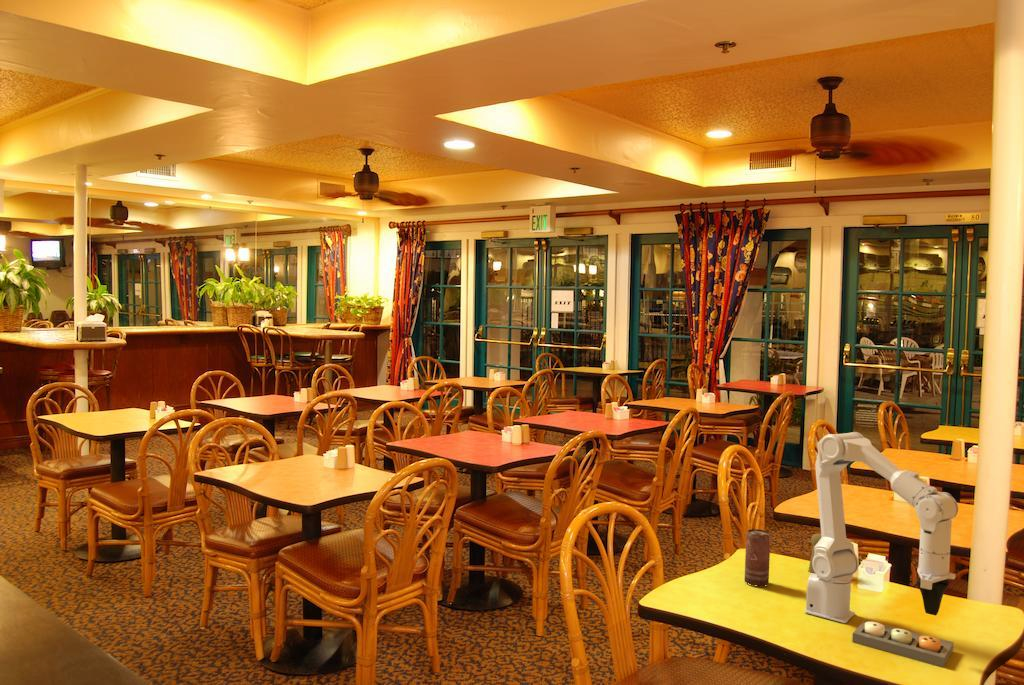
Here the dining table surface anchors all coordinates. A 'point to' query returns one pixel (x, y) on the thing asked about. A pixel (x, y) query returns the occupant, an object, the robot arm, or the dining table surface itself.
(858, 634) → the button panel
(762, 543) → the can
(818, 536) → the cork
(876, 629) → the button one
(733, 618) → the dining table surface
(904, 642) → the button two
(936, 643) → the button three
